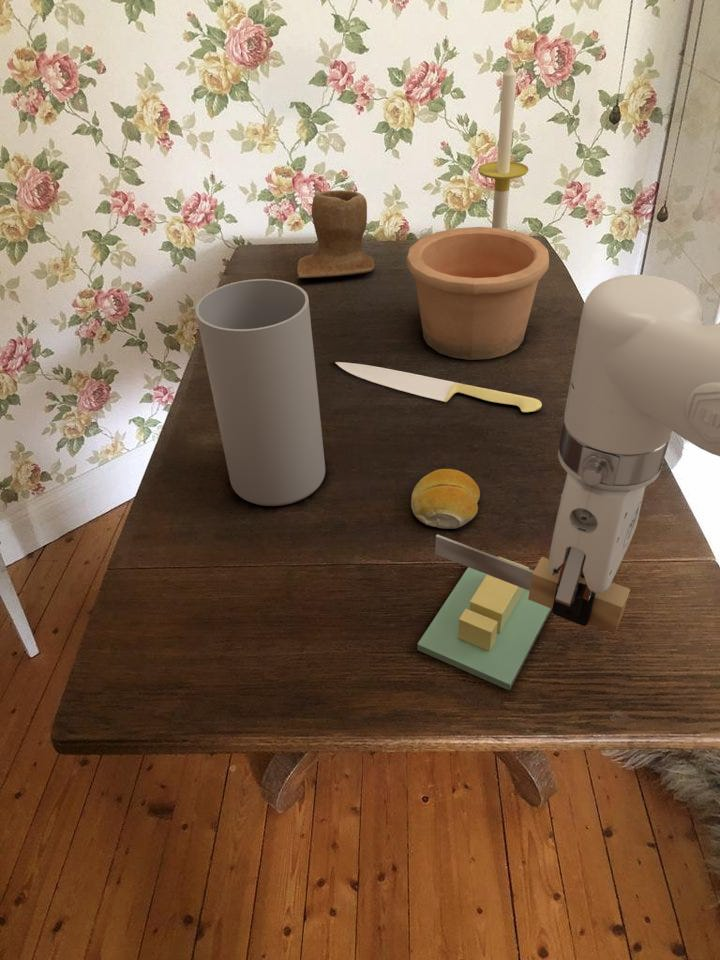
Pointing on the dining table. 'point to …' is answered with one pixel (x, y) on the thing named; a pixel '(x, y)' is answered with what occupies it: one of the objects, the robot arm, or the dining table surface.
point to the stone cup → (337, 236)
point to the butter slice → (477, 629)
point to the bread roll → (445, 499)
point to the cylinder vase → (264, 388)
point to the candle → (504, 152)
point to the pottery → (476, 289)
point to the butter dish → (475, 655)
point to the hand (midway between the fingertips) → (575, 604)
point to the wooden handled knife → (536, 581)
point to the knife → (435, 386)
